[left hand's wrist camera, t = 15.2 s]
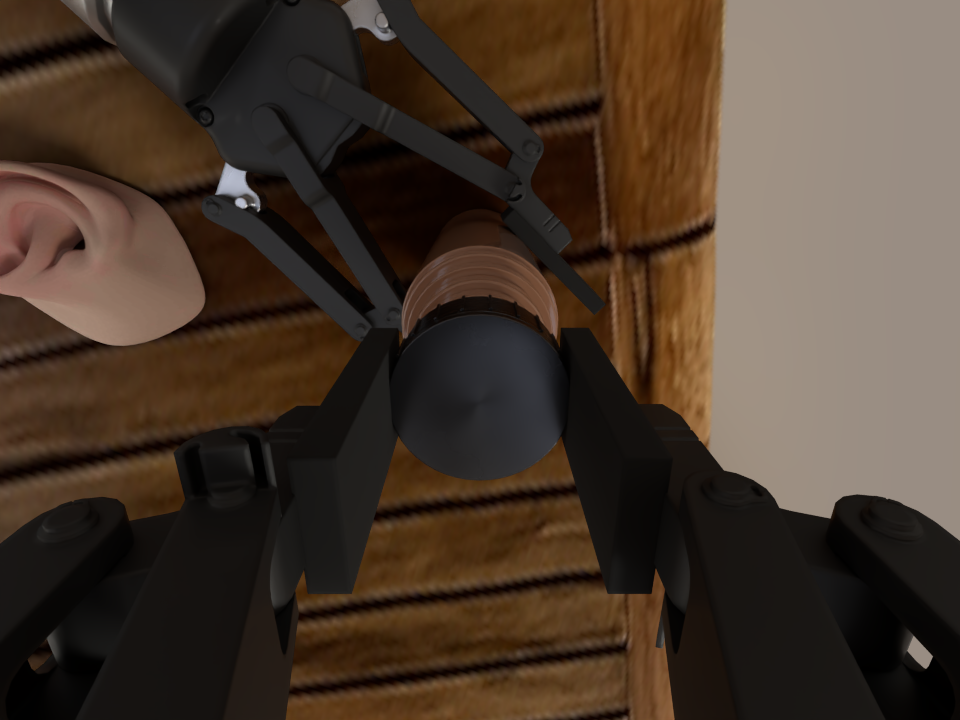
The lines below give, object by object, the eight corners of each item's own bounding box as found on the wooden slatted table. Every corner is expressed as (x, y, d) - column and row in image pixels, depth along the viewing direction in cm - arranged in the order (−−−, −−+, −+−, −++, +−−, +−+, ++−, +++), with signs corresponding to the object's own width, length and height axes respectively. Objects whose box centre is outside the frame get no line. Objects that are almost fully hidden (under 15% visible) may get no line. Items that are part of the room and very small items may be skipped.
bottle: (540, 274, 32) (626, 432, 14) (462, 316, 33) (440, 518, 14) (498, 191, 31) (528, 240, 12) (417, 238, 32) (323, 353, 13)
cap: (433, 264, 13) (427, 280, 11) (593, 334, 14) (608, 357, 12) (373, 412, 15) (359, 444, 13) (519, 468, 15) (524, 505, 14)
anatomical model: (204, 293, 29) (83, 411, 31) (235, 278, 32) (125, 384, 35) (-11, 89, 25) (-127, 242, 28) (52, 98, 29) (-55, 232, 31)
